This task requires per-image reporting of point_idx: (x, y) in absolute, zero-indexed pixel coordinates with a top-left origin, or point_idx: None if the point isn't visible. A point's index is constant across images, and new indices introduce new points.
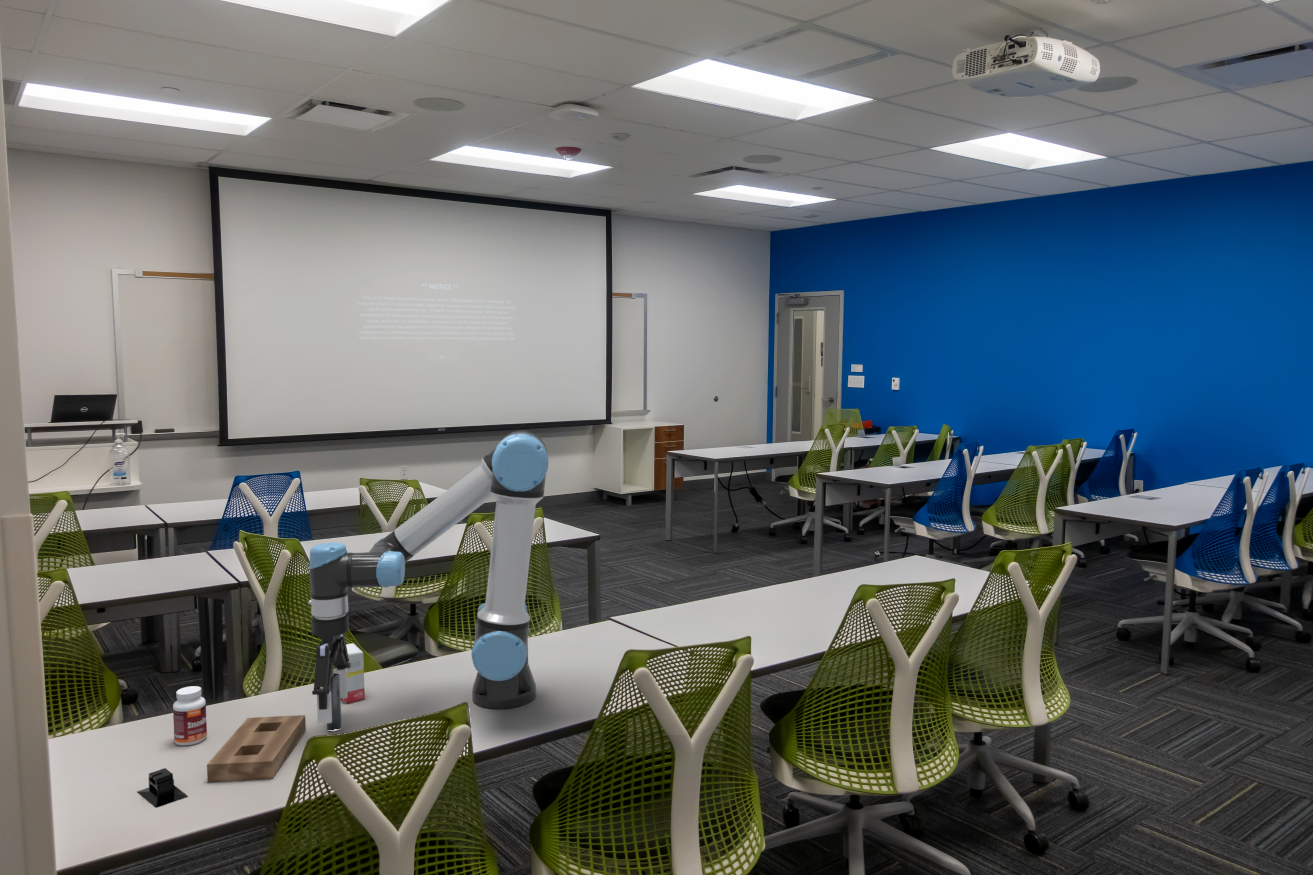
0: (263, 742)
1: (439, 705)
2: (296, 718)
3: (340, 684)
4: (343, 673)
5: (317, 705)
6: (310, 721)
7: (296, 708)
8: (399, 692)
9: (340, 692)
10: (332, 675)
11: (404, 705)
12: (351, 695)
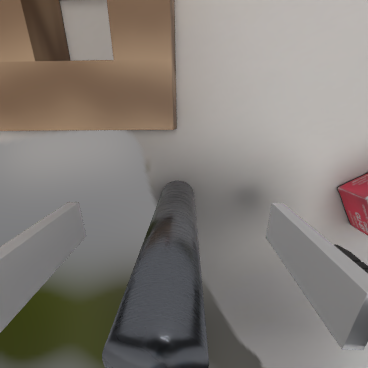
0: None
1: (261, 345)
2: (145, 106)
3: (295, 255)
4: (329, 317)
5: (14, 239)
6: (237, 123)
7: (359, 41)
8: None
9: (278, 232)
10: (166, 361)
11: (280, 300)
12: (357, 207)
